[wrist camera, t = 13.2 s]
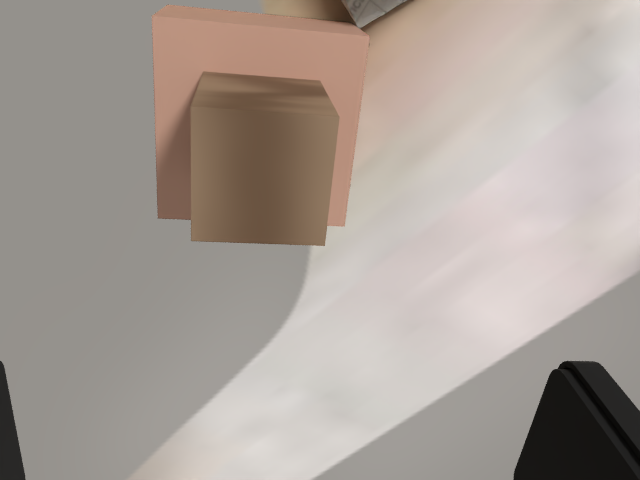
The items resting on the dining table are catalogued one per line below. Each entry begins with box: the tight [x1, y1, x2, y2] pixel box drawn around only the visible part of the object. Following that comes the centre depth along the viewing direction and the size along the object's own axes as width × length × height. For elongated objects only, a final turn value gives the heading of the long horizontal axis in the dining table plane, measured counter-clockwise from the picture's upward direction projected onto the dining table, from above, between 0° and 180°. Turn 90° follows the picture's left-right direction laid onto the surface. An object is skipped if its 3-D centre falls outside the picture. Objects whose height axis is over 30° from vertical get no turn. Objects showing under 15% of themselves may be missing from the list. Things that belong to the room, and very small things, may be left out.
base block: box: [152, 5, 370, 226], centre depth 28 cm, size 9×9×5 cm
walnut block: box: [191, 71, 340, 246], centre depth 23 cm, size 5×5×6 cm
